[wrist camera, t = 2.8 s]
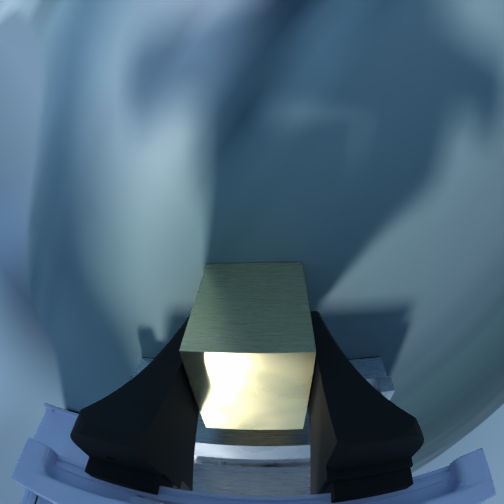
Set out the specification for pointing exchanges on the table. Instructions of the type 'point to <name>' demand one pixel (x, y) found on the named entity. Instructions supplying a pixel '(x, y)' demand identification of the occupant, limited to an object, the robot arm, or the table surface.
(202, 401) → the brass block
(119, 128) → the table surface
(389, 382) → the vise bed
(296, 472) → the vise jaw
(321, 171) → the table surface
